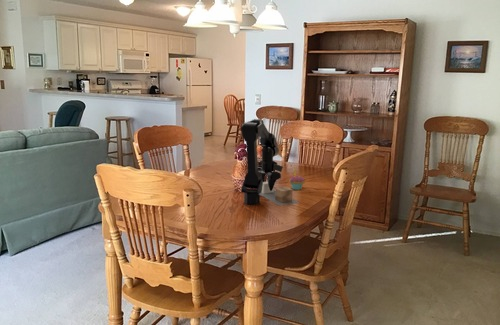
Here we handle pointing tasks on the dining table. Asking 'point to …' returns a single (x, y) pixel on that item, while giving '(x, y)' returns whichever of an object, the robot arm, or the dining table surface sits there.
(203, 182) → the dining table surface
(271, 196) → the flat grey tray
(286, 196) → the cube
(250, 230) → the dining table surface
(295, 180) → the cupcake
